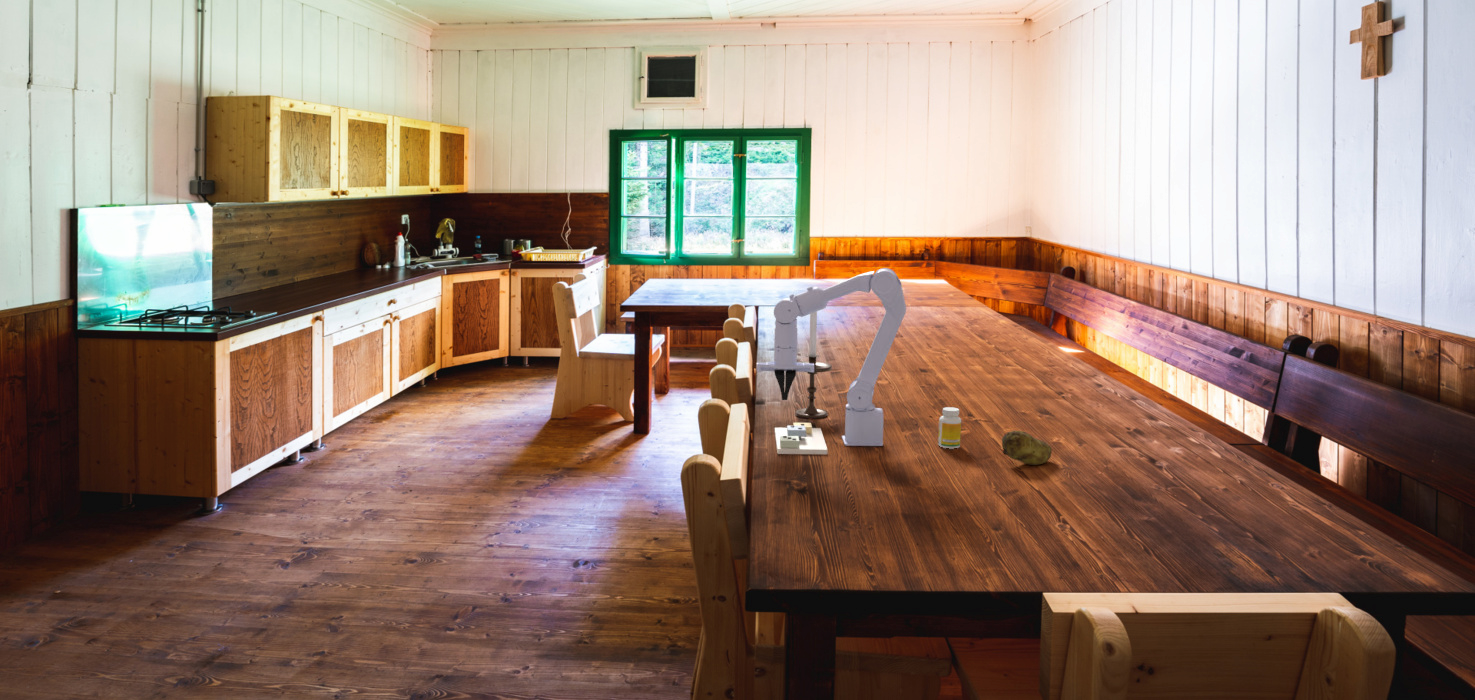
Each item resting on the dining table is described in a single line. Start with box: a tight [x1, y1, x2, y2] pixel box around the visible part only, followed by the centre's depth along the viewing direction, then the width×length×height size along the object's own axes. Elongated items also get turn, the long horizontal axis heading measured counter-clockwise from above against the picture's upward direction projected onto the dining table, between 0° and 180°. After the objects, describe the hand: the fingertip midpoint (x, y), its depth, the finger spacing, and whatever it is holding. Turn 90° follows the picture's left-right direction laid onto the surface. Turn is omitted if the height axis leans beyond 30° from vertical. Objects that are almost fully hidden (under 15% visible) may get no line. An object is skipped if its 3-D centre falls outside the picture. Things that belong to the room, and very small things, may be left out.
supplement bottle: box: [937, 406, 962, 450], centre depth 221 cm, size 5×5×10 cm
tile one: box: [792, 422, 813, 434], centre depth 229 cm, size 4×4×2 cm
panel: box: [774, 427, 828, 455], centre depth 224 cm, size 12×20×2 cm, turn 0°
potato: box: [1001, 430, 1053, 466], centre depth 207 cm, size 8×13×8 cm, turn 95°
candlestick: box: [794, 311, 833, 420], centre depth 249 cm, size 11×11×35 cm
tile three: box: [780, 436, 799, 448], centre depth 216 cm, size 4×4×2 cm
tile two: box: [786, 424, 806, 437], centre depth 223 cm, size 4×4×2 cm
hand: (784, 399), depth 226 cm, fingers closed
